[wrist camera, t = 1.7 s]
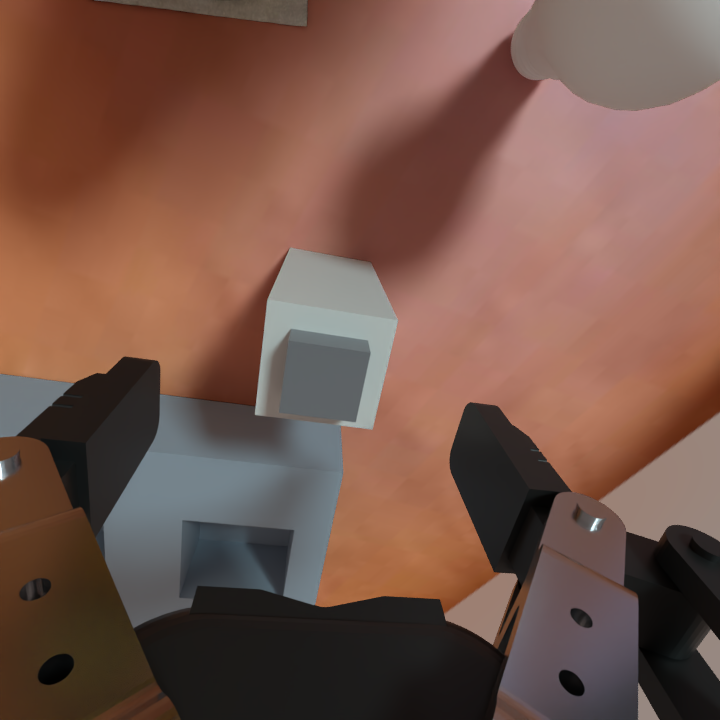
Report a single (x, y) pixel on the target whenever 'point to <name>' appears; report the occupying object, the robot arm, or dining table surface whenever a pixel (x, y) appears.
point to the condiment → (236, 9)
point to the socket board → (210, 500)
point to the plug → (325, 341)
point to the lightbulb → (621, 49)
